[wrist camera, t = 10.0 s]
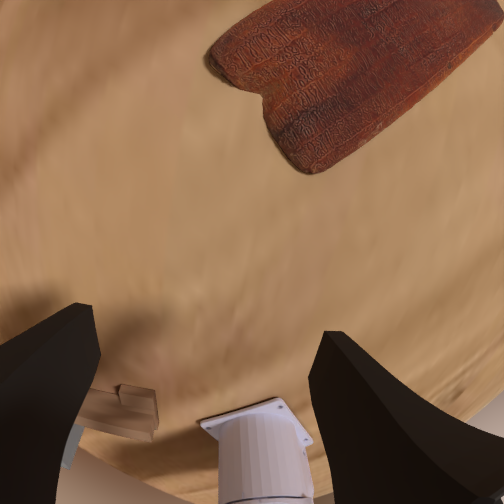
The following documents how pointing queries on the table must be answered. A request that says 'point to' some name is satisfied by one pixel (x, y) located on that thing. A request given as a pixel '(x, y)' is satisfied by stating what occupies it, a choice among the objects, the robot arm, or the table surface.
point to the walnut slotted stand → (121, 412)
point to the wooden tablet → (347, 65)
